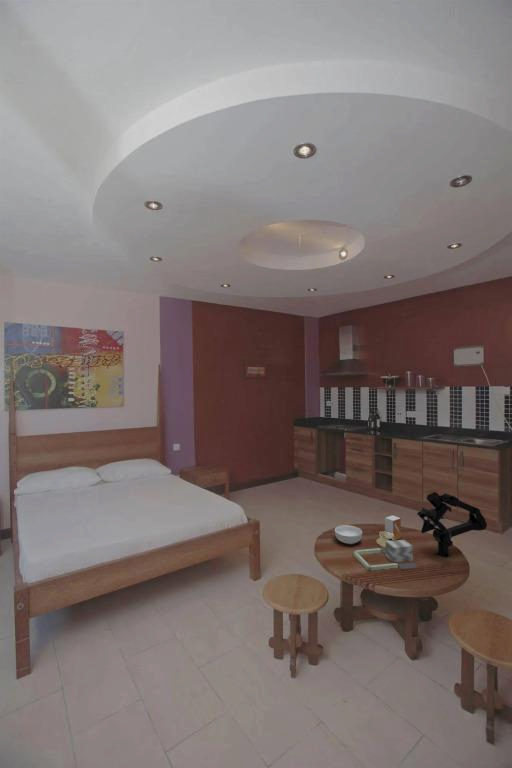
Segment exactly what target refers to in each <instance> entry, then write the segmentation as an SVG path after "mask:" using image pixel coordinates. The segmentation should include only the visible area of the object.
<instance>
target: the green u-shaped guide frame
mask: <svg viewBox="0 0 512 768" xmlns="http://www.w3.org/2000/svg"><path fill="white" fill-rule="evenodd" d="M381 553H382V554H383V555H386V548H379V547H377V548H370V549H368V548H367V549H357V550H352V555H353V556H354V557H355V558H356V560H358V562H359V563H360V564H361V565H363V567H364V568H365V569H366V570H367V571H368V572H373V571H374V570H376V571H382V570H381V569H385V570H391V569H390V568H394V569H400V568H401V570H402V569H405V570H413V569H419V568H420V567H419V566H418V565H417V564H416V563H414V562H403V563H398V562H397V563H393V562H391V563H385V564H384V563H383V564H382V563H381V564H374V565H370V564H369V563H368V562H367V561H366V560H365V559H364V558H363V557H362V556H363V555H373V554H381ZM398 566H399V567H400V568H399V567H398ZM374 572H375V571H374Z"/></svg>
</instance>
